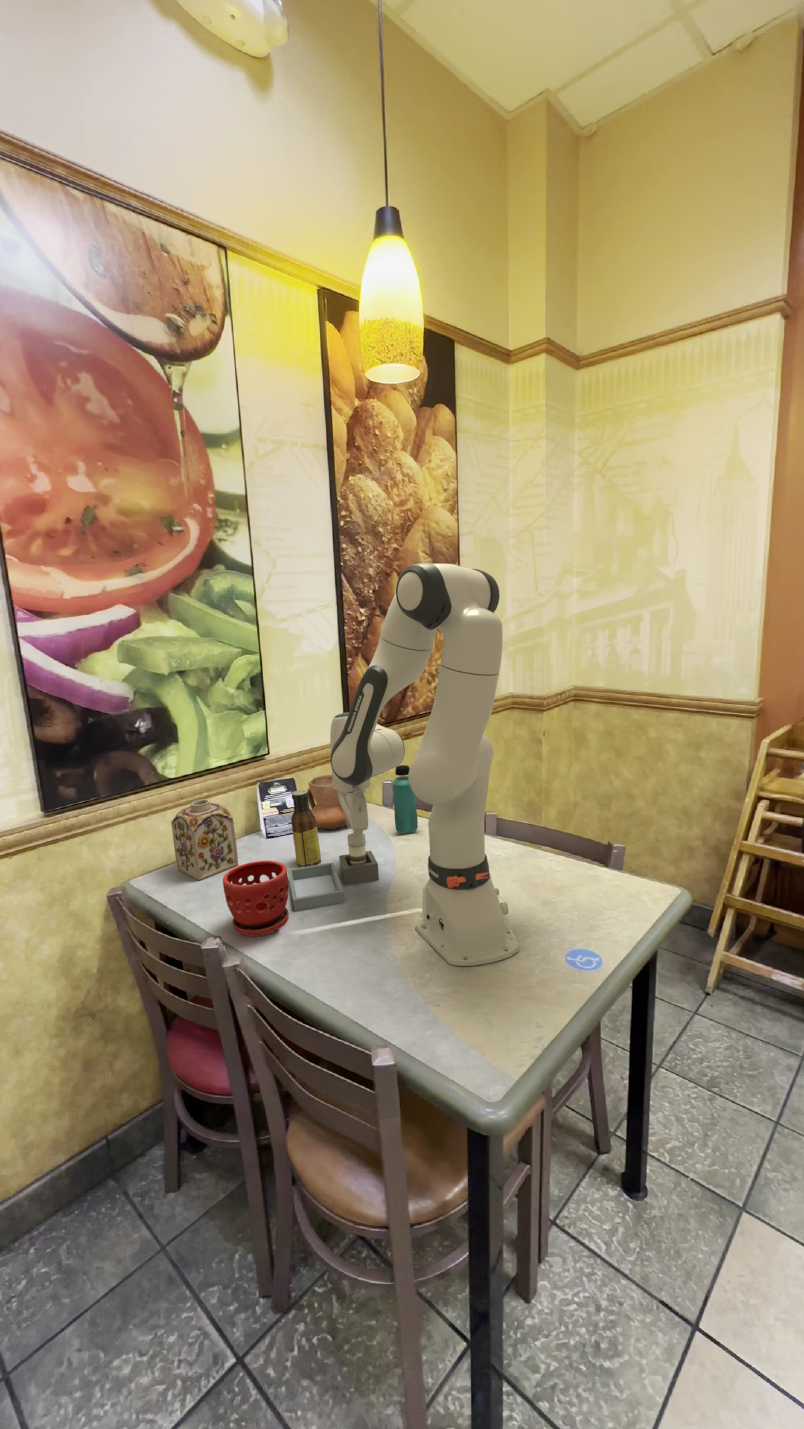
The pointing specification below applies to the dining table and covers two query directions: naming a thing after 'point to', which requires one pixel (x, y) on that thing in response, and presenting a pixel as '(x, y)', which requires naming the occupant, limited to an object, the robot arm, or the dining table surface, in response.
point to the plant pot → (257, 897)
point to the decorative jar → (204, 839)
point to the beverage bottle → (404, 802)
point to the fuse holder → (359, 869)
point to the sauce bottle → (304, 831)
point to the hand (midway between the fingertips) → (354, 834)
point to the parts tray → (316, 899)
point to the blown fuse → (357, 850)
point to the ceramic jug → (325, 803)
